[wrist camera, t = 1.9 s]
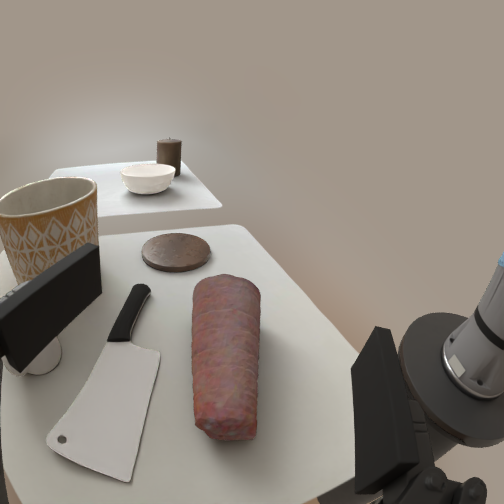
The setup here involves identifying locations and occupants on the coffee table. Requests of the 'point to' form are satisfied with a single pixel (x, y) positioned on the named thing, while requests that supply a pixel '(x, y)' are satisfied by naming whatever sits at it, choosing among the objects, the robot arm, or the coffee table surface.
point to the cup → (40, 360)
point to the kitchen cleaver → (111, 401)
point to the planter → (47, 223)
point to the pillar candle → (169, 154)
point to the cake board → (175, 252)
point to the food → (226, 356)
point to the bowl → (147, 178)
